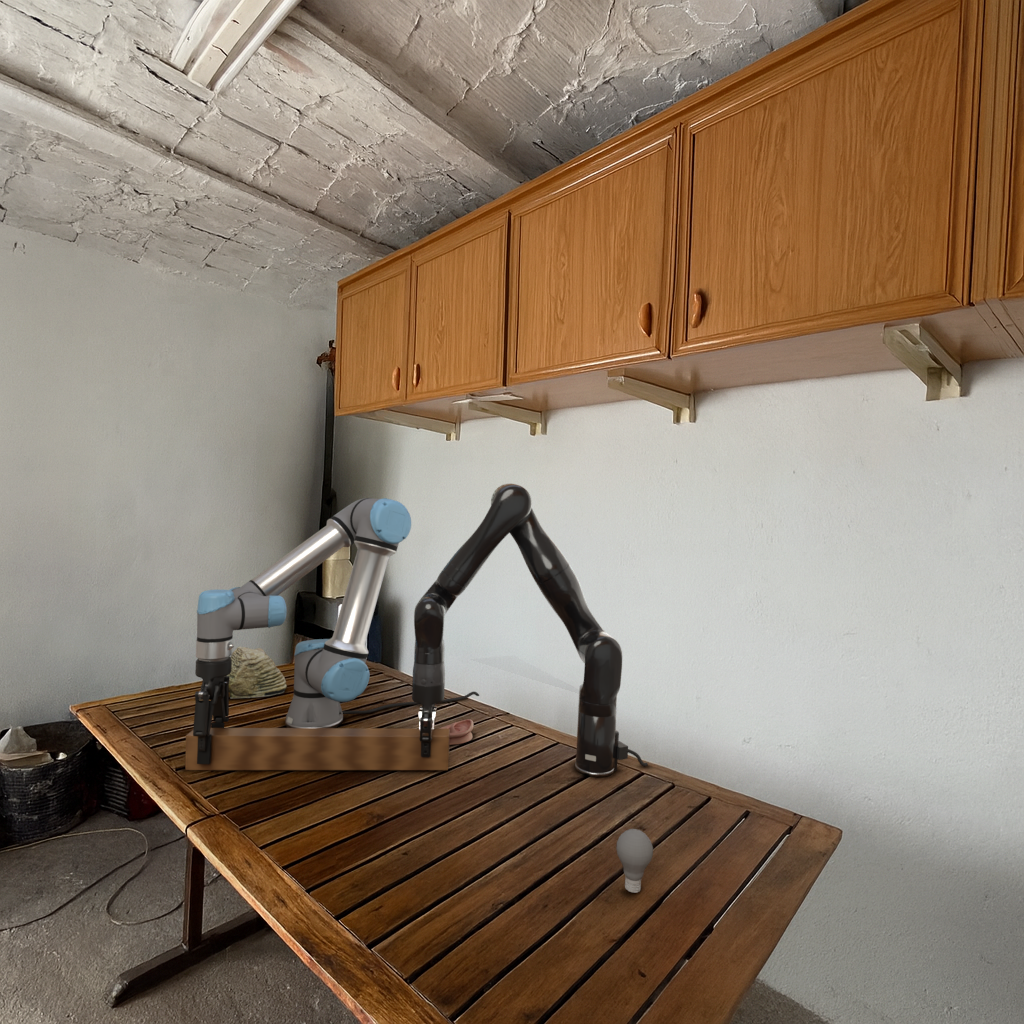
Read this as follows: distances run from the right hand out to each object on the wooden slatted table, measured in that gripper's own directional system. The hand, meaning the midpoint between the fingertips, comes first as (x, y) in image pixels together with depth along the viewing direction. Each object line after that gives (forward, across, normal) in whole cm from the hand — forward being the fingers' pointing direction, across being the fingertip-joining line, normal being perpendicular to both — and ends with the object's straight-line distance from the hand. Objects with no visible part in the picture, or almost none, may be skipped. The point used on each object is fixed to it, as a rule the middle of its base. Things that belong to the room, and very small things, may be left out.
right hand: (426, 751), depth 149 cm
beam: (+3, 0, +24) cm, 25 cm away
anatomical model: (+4, +20, -4) cm, 21 cm away
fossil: (+4, +52, +58) cm, 78 cm away
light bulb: (+5, -46, -38) cm, 60 cm away
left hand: (+2, 0, +50) cm, 50 cm away
